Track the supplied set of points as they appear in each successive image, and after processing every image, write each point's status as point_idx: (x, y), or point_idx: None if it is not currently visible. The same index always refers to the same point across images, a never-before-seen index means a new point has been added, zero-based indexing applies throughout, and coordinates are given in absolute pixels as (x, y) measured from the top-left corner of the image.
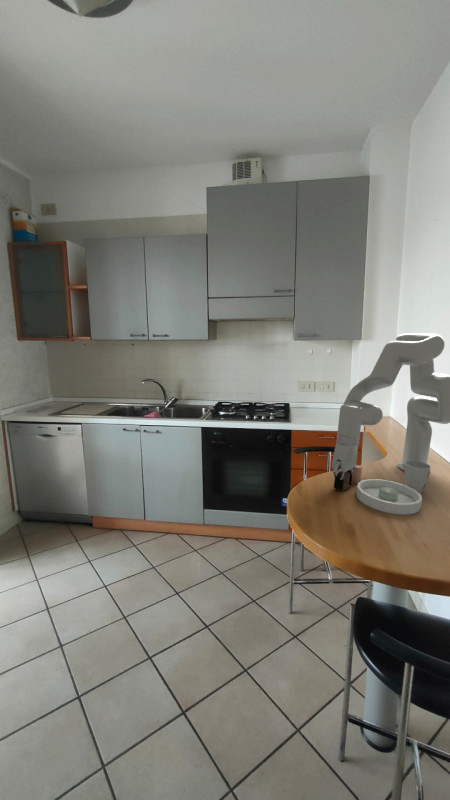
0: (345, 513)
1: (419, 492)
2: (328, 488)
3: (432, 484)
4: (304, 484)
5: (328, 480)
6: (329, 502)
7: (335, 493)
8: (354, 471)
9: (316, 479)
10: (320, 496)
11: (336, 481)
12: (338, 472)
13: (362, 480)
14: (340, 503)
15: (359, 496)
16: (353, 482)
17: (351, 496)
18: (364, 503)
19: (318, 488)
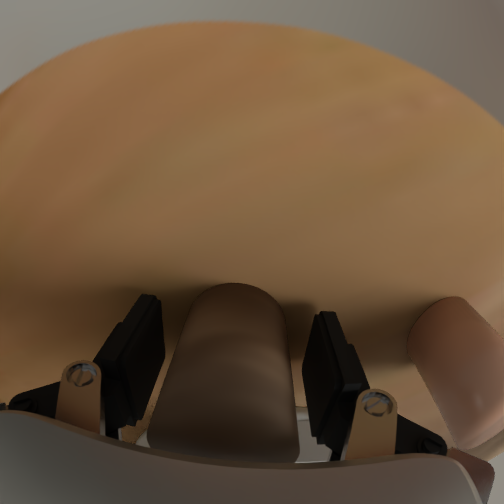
0: (15, 388)
1: None
2: (131, 242)
3: (486, 455)
4: (57, 59)
5: (325, 153)
6: (5, 323)
7: (102, 317)
8: (450, 405)
9: (249, 46)
10: (3, 260)
11: (99, 360)
12: (167, 412)
13: (325, 461)
14: (42, 366)
15: (146, 442)
16: (409, 340)
17: (158, 396)
18: (136, 443)
19: (67, 181)
